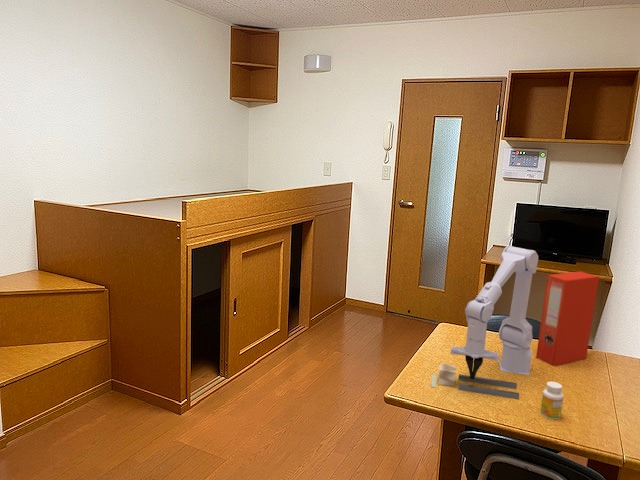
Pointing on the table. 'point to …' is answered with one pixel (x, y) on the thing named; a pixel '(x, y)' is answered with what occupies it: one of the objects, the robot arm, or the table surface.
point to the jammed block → (447, 375)
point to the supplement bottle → (552, 401)
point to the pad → (433, 381)
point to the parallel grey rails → (488, 390)
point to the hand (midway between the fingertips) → (472, 377)
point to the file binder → (567, 317)
